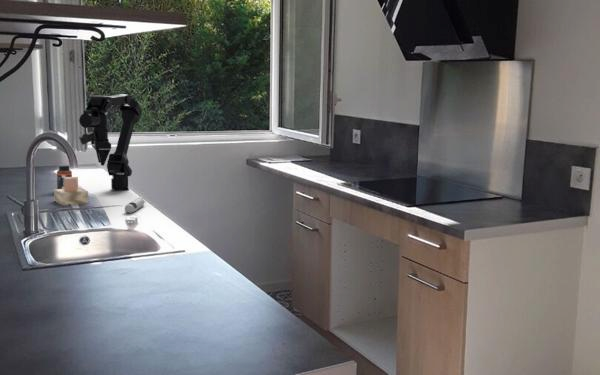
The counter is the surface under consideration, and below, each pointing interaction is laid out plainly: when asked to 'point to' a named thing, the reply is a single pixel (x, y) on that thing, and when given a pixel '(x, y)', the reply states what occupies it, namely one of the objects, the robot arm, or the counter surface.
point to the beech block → (71, 196)
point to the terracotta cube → (70, 184)
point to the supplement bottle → (62, 175)
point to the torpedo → (134, 205)
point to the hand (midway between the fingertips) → (101, 163)
